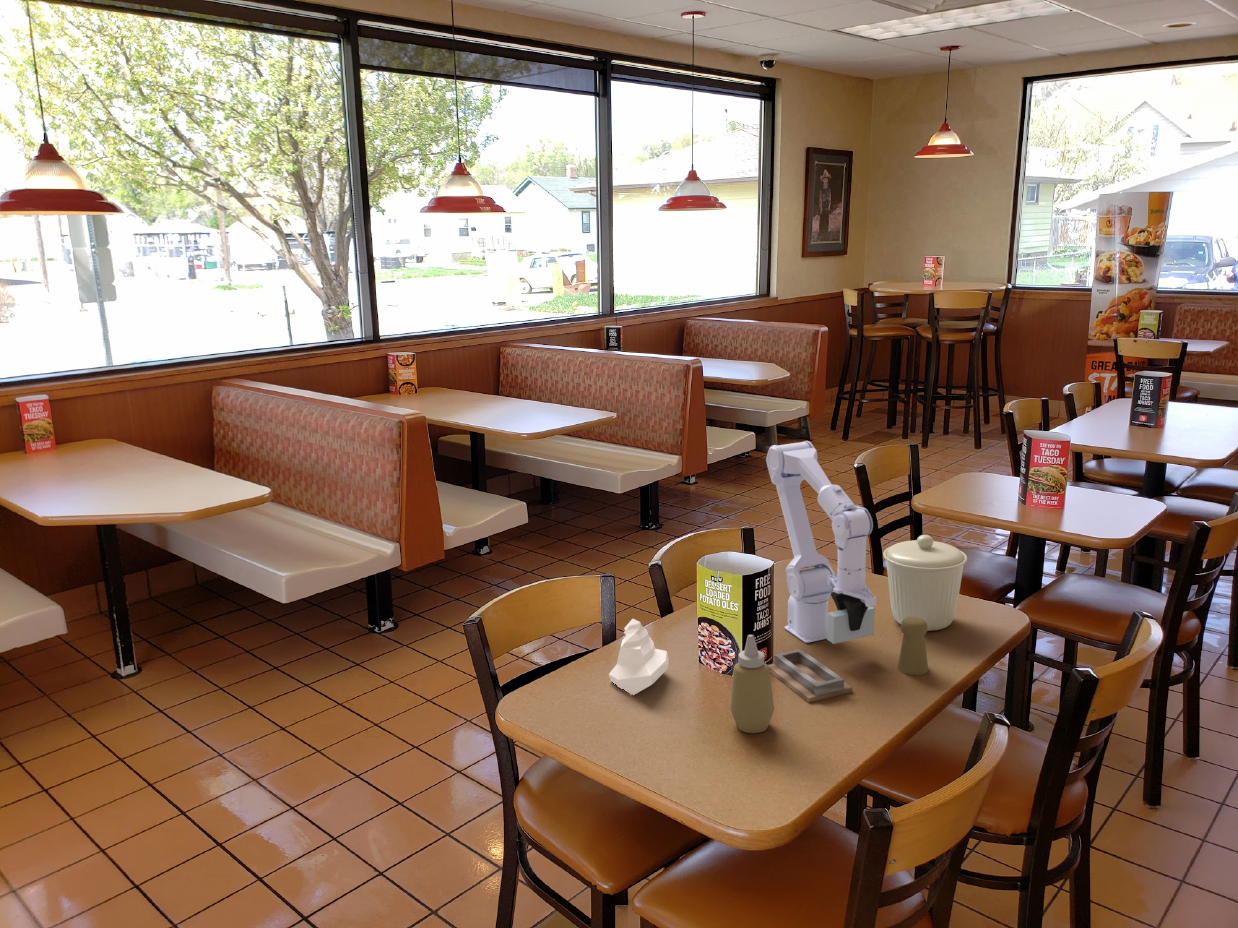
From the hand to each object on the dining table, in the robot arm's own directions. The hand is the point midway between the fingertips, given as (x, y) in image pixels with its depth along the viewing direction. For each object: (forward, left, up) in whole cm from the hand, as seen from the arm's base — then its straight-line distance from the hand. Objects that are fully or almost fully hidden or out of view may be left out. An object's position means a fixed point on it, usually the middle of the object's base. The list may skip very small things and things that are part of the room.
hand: (850, 626), depth 192 cm
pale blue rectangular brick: (0, 0, -2) cm, 2 cm away
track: (+4, -13, -8) cm, 16 cm away
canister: (-9, +26, -8) cm, 29 cm away
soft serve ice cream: (-11, -44, -8) cm, 46 cm away
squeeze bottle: (+15, -32, -8) cm, 36 cm away
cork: (+9, +9, -8) cm, 15 cm away
